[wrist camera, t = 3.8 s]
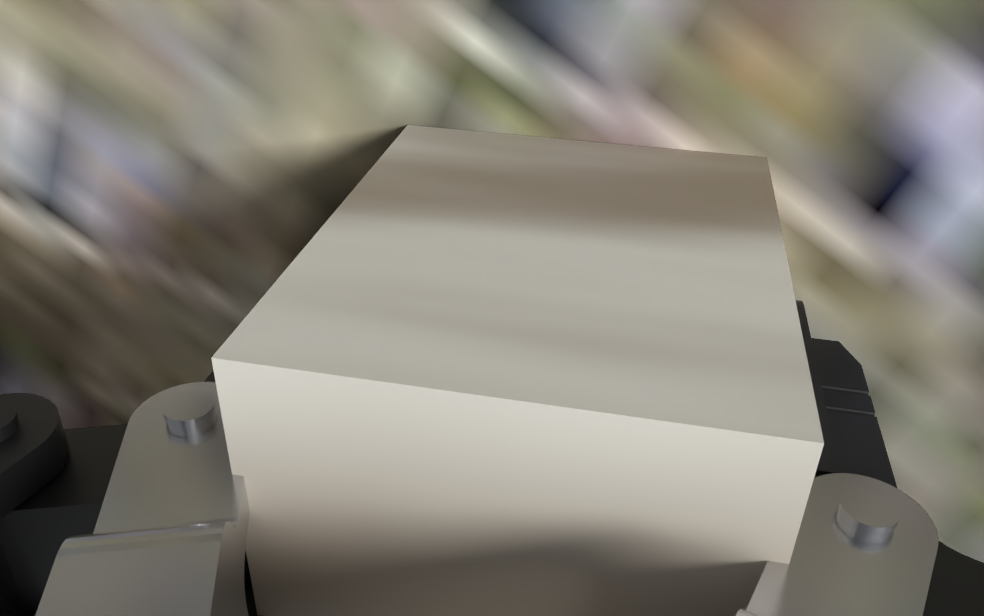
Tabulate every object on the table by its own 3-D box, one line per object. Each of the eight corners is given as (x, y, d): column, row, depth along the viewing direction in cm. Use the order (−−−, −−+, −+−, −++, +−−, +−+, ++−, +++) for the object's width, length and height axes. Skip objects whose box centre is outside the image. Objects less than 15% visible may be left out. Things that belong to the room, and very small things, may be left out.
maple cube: (407, 125, 12) (211, 357, 7) (766, 156, 12) (824, 443, 7) (415, 402, 15) (275, 714, 10) (709, 444, 14) (719, 806, 9)
